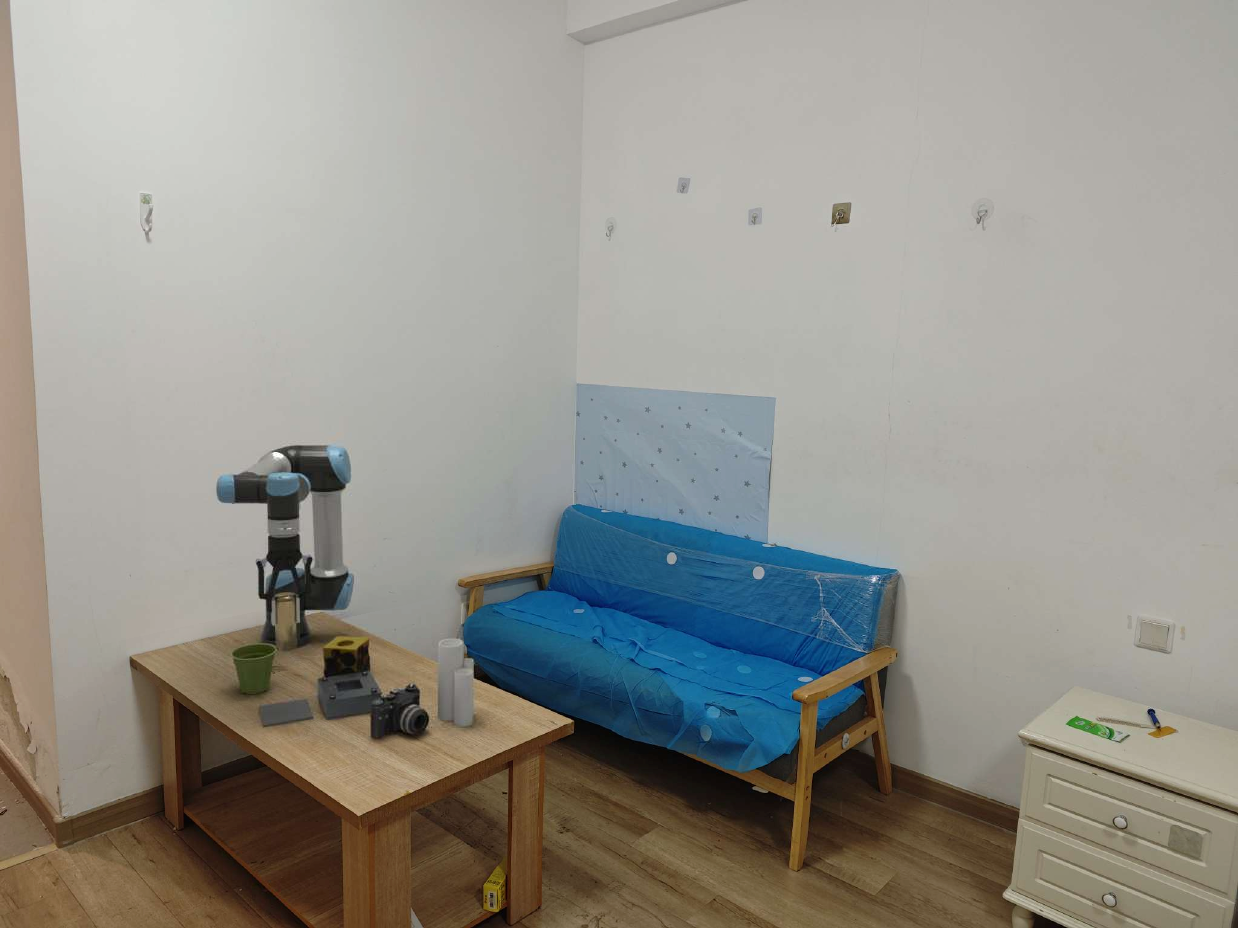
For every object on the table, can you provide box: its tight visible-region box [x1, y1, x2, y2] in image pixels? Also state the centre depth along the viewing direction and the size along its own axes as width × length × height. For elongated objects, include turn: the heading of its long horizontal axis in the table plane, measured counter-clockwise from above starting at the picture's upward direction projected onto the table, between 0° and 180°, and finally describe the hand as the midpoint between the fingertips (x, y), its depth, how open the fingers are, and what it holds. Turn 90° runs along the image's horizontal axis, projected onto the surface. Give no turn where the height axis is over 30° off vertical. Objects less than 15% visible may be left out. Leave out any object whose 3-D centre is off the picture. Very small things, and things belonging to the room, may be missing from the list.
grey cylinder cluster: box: [437, 638, 475, 728], centre depth 215 cm, size 11×7×20 cm, turn 59°
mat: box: [258, 698, 314, 728], centre depth 215 cm, size 12×12×1 cm
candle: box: [322, 635, 371, 677], centre depth 240 cm, size 10×10×10 cm
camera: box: [370, 683, 430, 740], centre depth 207 cm, size 14×11×10 cm
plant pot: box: [229, 642, 278, 695], centre depth 228 cm, size 12×12×11 cm
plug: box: [274, 592, 298, 652], centre depth 211 cm, size 5×5×14 cm
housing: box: [316, 670, 383, 720], centre depth 222 cm, size 16×14×6 cm
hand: (285, 622), depth 211 cm, fingers closed on plug, 5 cm apart
